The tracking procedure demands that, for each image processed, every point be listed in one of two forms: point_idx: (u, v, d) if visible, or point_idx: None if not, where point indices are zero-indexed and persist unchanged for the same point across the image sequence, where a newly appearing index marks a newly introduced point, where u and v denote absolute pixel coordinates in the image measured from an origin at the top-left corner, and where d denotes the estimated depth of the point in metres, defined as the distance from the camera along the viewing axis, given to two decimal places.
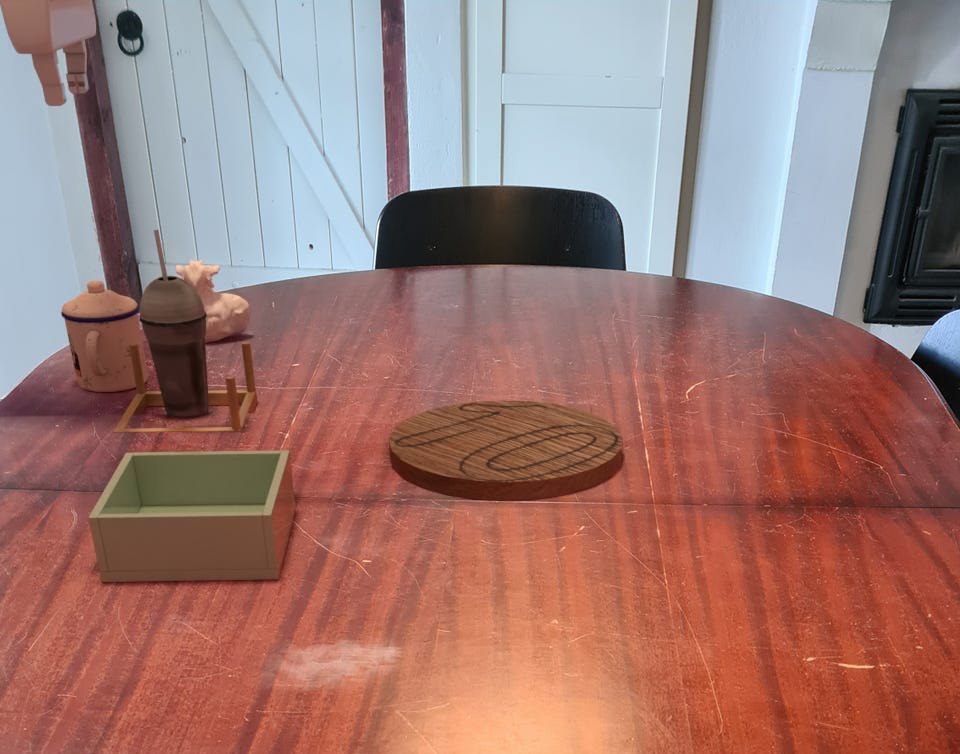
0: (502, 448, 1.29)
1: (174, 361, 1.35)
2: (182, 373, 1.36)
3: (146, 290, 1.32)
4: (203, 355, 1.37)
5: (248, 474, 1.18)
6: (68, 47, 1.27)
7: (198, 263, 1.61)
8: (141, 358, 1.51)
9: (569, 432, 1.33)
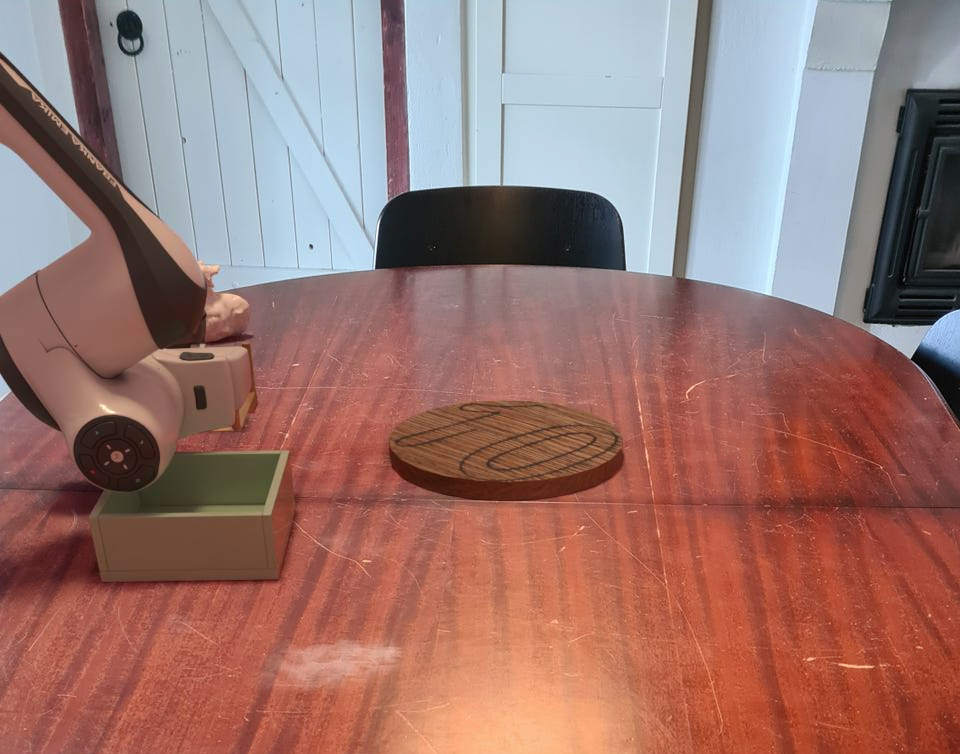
0: (502, 448, 1.29)
1: None
2: None
3: None
4: None
5: (248, 474, 1.18)
6: None
7: (198, 263, 1.61)
8: None
9: (569, 432, 1.33)
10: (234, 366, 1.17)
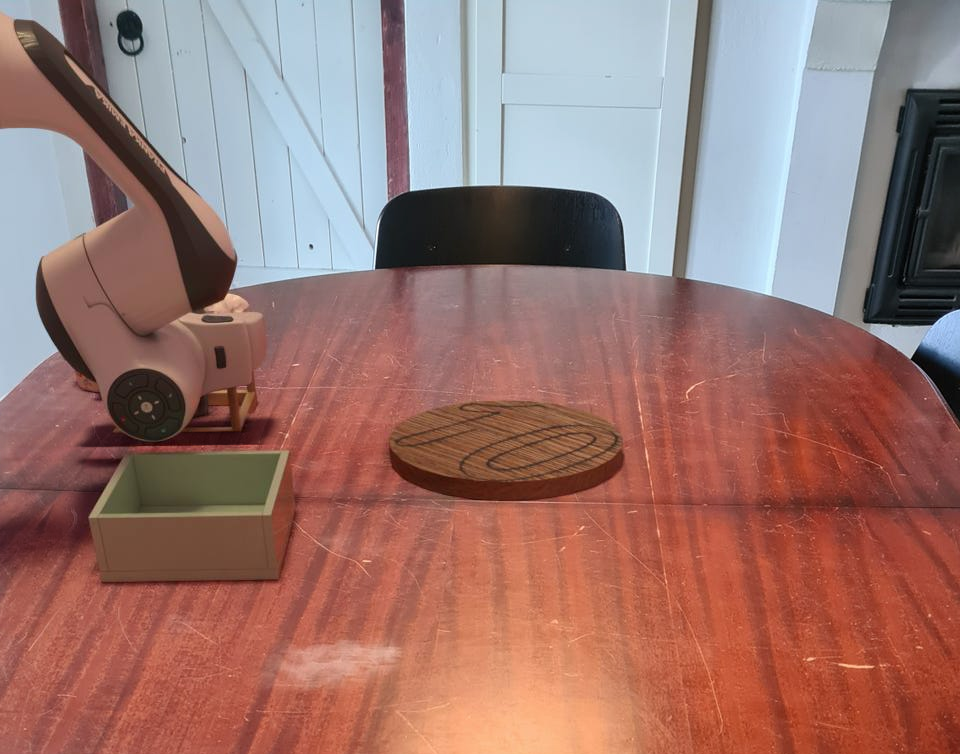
0: (502, 448, 1.29)
1: None
2: None
3: None
4: None
5: (248, 474, 1.18)
6: None
7: None
8: None
9: (569, 432, 1.33)
10: (251, 329, 1.27)
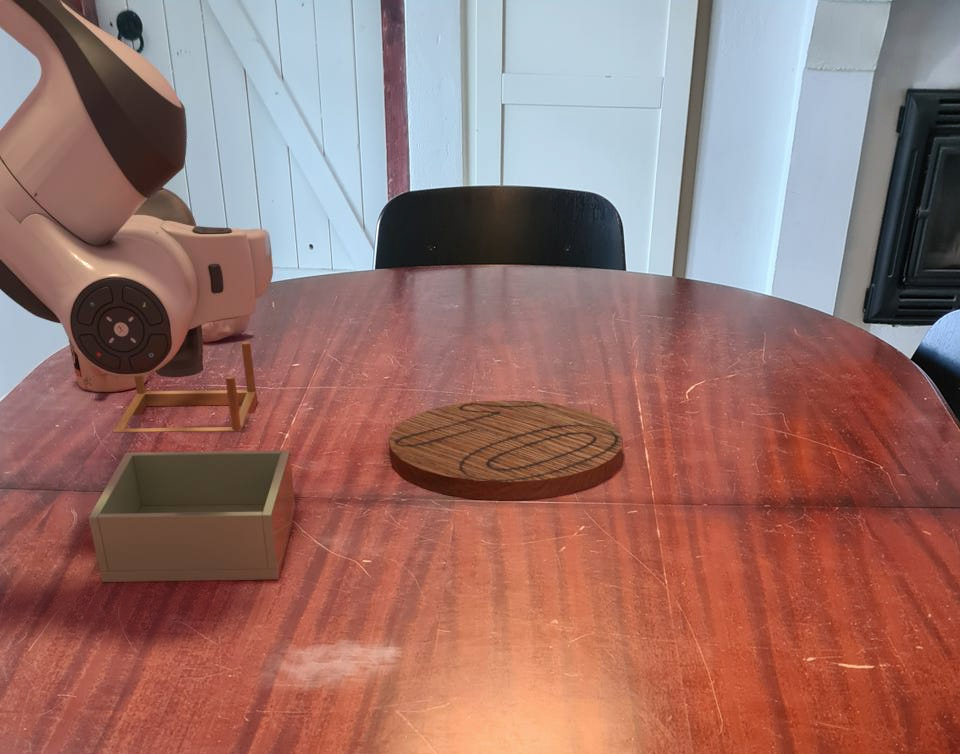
0: (502, 448, 1.29)
1: None
2: None
3: None
4: None
5: (248, 474, 1.18)
6: None
7: None
8: None
9: (569, 432, 1.33)
10: (254, 246, 1.03)
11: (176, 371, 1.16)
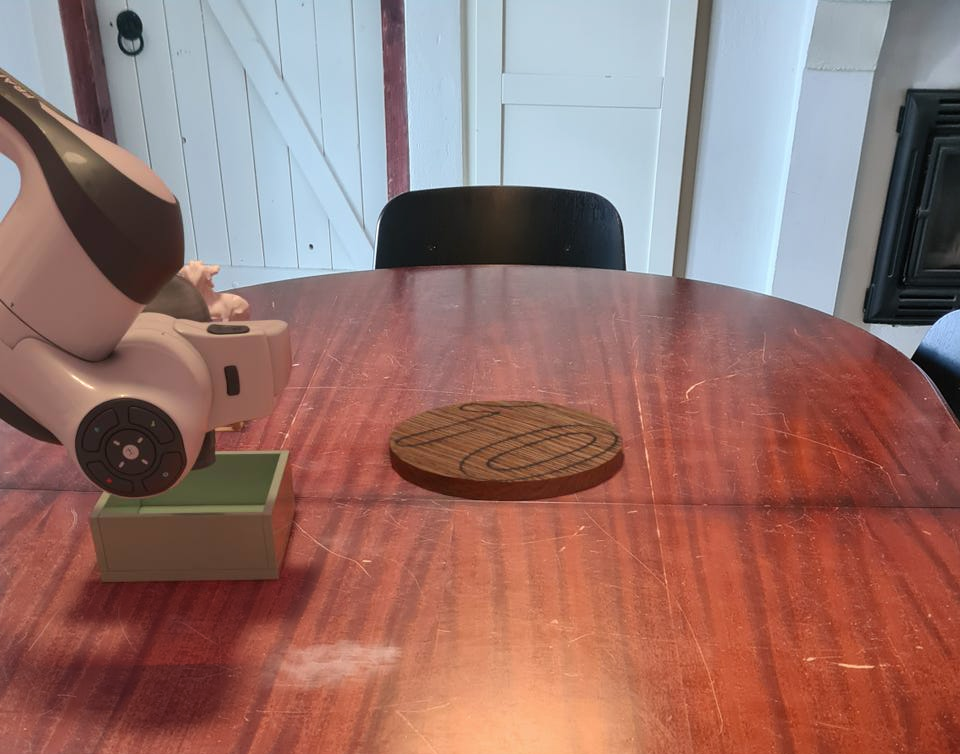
0: (502, 448, 1.29)
1: None
2: None
3: None
4: None
5: (248, 474, 1.18)
6: None
7: (198, 263, 1.61)
8: None
9: (569, 432, 1.33)
10: (273, 343, 0.95)
11: None
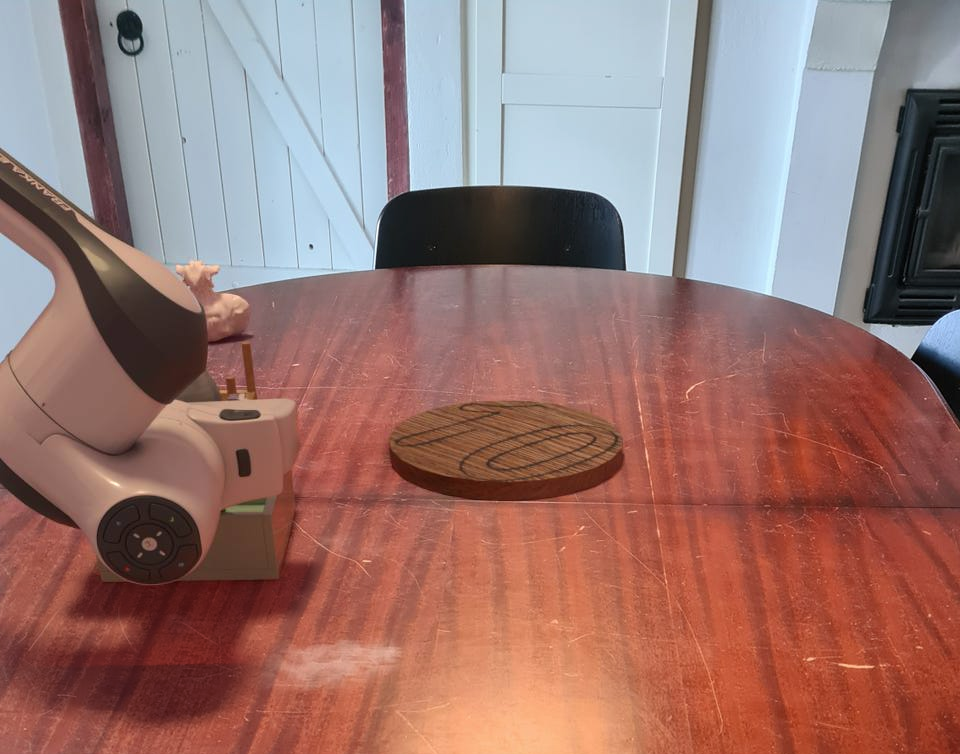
0: (502, 448, 1.29)
1: None
2: None
3: None
4: None
5: None
6: None
7: (198, 263, 1.61)
8: None
9: (569, 432, 1.33)
10: (283, 424, 0.99)
11: None
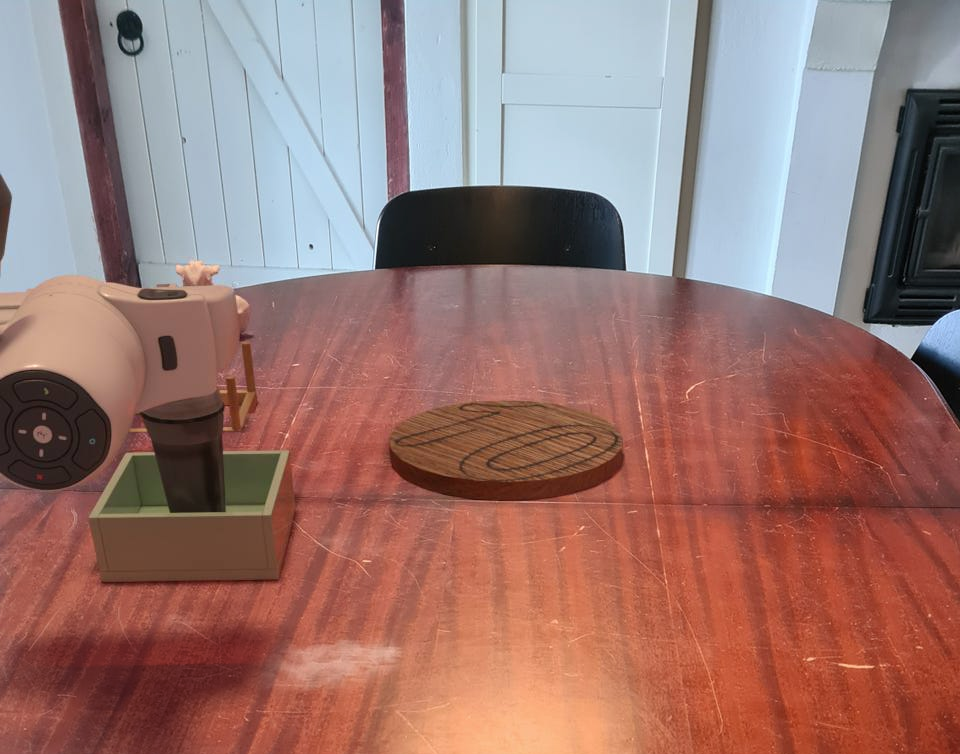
0: (502, 448, 1.29)
1: (184, 465, 1.07)
2: (193, 479, 1.08)
3: None
4: (220, 456, 1.09)
5: (248, 474, 1.18)
6: None
7: (198, 263, 1.61)
8: None
9: (569, 432, 1.33)
10: (216, 310, 0.84)
11: None
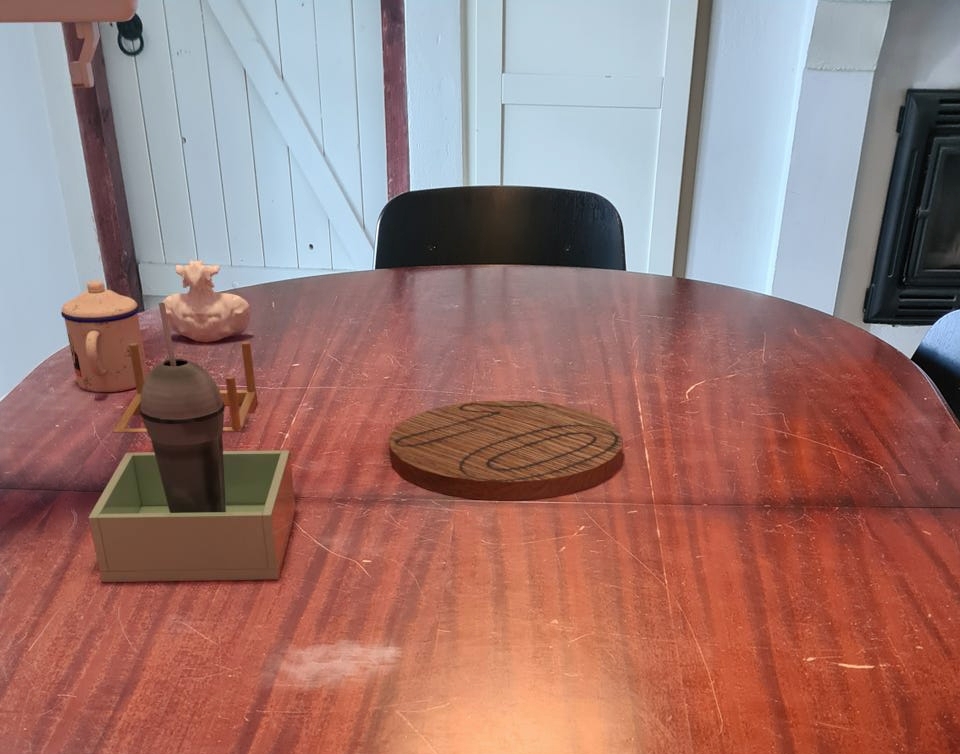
0: (502, 448, 1.29)
1: (184, 465, 1.07)
2: (193, 479, 1.08)
3: (149, 378, 1.05)
4: (220, 456, 1.09)
5: (248, 474, 1.18)
6: None
7: (198, 263, 1.61)
8: (141, 358, 1.51)
9: (569, 432, 1.33)
10: None
11: None
